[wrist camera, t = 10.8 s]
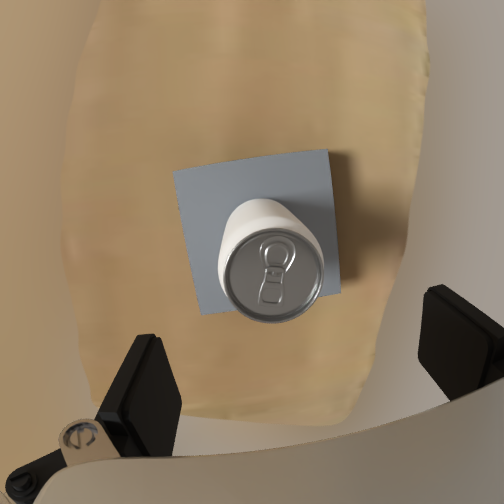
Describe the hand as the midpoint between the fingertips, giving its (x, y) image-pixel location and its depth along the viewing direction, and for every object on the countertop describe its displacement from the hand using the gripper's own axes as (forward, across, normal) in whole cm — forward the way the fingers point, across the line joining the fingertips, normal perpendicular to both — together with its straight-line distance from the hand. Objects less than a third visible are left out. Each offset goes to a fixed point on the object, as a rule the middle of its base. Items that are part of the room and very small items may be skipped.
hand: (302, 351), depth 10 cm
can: (+20, 0, 0) cm, 20 cm away
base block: (+24, 0, 0) cm, 24 cm away
